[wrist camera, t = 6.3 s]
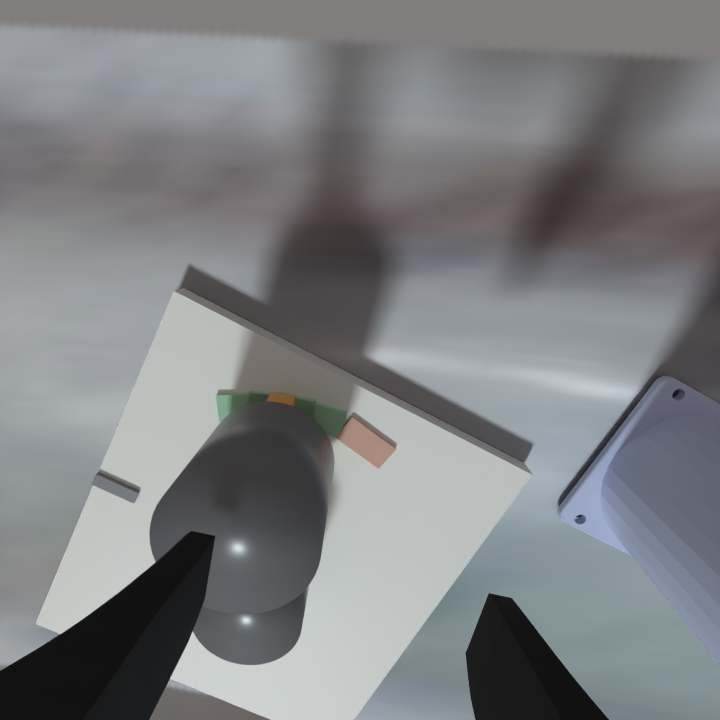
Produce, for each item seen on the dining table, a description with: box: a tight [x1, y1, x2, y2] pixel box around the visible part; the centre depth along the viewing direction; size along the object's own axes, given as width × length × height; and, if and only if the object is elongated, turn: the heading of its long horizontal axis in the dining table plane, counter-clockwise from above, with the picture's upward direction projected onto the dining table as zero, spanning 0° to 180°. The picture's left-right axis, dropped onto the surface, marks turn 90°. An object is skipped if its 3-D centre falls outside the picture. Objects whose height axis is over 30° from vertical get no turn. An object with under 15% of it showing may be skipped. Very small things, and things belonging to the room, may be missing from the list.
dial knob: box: [149, 392, 335, 665], centre depth 17 cm, size 11×5×6 cm, turn 171°
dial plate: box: [36, 288, 532, 720], centre depth 22 cm, size 17×19×1 cm
